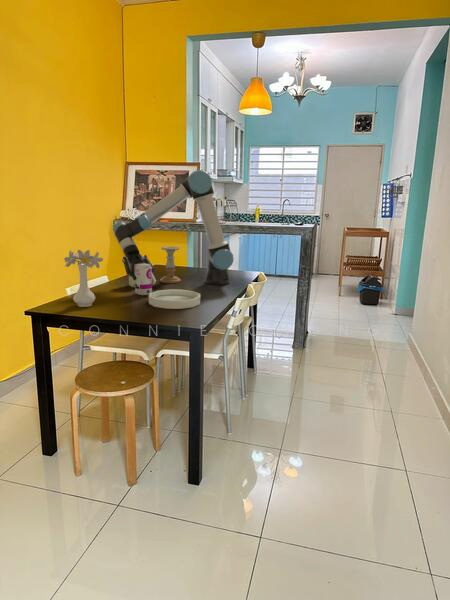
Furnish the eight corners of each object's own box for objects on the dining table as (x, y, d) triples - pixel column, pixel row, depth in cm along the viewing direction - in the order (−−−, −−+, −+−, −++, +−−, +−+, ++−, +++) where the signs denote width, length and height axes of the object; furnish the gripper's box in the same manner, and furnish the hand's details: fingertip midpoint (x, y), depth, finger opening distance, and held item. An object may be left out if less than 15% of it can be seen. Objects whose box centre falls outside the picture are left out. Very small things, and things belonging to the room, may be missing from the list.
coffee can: (132, 283, 235) (131, 258, 232) (149, 284, 234) (149, 259, 231) (126, 286, 225) (125, 261, 222) (144, 287, 224) (144, 262, 221)
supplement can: (154, 292, 212) (154, 263, 209) (146, 295, 205) (146, 266, 201) (141, 291, 215) (140, 262, 211) (132, 294, 207) (131, 265, 204)
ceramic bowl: (200, 296, 208) (200, 290, 207) (200, 309, 184) (200, 301, 183) (152, 295, 206) (152, 289, 205) (146, 308, 183) (146, 300, 182)
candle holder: (167, 278, 251) (167, 245, 246) (184, 281, 246) (184, 247, 242) (155, 282, 240) (155, 247, 236) (173, 284, 235) (173, 249, 231)
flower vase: (108, 301, 192) (106, 248, 187) (86, 311, 175) (83, 253, 169) (83, 299, 195) (80, 246, 189) (59, 308, 178) (55, 251, 172)
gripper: (144, 251, 223) (161, 285, 215) (109, 254, 209) (126, 290, 201) (149, 242, 218) (167, 277, 210) (113, 244, 204) (131, 281, 196)
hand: (147, 283), depth 206 cm, fingers closed on supplement can, 8 cm apart
